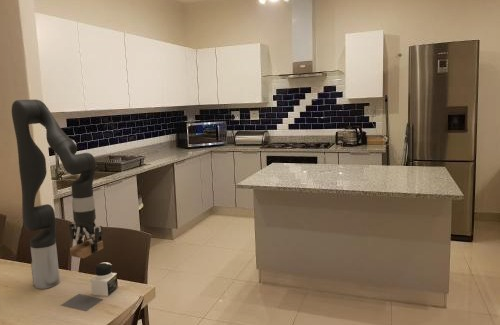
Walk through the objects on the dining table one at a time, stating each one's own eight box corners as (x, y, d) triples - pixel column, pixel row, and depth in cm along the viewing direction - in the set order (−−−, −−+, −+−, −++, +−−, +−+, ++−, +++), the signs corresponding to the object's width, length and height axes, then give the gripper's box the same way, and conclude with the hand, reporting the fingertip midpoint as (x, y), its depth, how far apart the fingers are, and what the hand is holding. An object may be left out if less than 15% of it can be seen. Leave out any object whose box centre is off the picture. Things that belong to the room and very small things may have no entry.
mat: (60, 307, 147) (60, 305, 146) (79, 296, 155) (78, 293, 155) (86, 313, 142) (86, 311, 142) (103, 301, 151) (103, 299, 151)
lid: (70, 256, 145) (69, 245, 144) (91, 246, 154) (90, 236, 154) (83, 258, 143) (82, 247, 142) (103, 248, 152) (102, 238, 151)
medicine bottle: (108, 298, 153) (106, 269, 151) (91, 296, 154) (89, 267, 152) (118, 289, 160) (116, 261, 158) (102, 287, 161) (100, 260, 159)
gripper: (60, 208, 145) (64, 252, 148) (91, 213, 140) (95, 258, 142) (76, 203, 152) (80, 245, 155) (106, 207, 146) (110, 250, 149)
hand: (87, 251), depth 149 cm, fingers closed on lid, 6 cm apart
